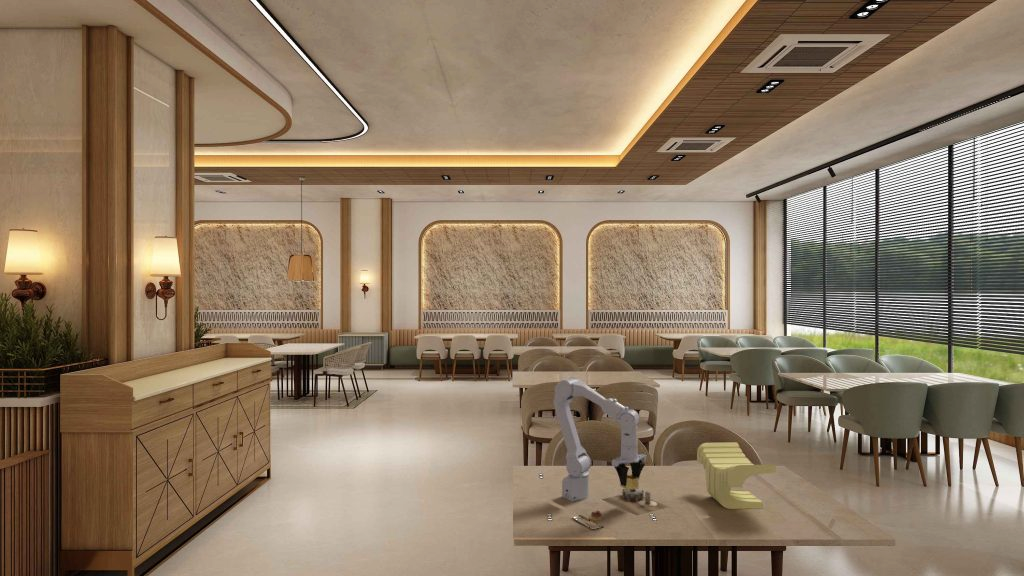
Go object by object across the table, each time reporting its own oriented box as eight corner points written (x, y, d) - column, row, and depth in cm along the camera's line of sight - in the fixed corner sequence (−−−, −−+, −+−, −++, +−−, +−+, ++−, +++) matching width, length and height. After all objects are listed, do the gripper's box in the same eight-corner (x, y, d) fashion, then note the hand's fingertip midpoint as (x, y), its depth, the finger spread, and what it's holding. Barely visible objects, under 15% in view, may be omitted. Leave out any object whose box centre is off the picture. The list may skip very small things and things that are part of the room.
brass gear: (629, 490, 207) (629, 480, 207) (619, 486, 211) (619, 476, 211) (639, 487, 209) (639, 477, 209) (629, 483, 214) (629, 473, 214)
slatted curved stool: (697, 488, 231) (697, 442, 232) (737, 488, 232) (737, 442, 233) (729, 518, 202) (729, 465, 202) (775, 517, 202) (775, 464, 203)
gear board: (636, 518, 201) (636, 503, 201) (601, 502, 216) (601, 488, 216) (668, 509, 209) (668, 495, 209) (632, 494, 224) (632, 481, 224)
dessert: (622, 525, 196) (622, 510, 196) (592, 532, 190) (592, 517, 190) (599, 513, 207) (599, 499, 207) (570, 520, 201) (570, 505, 201)
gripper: (621, 450, 203) (621, 490, 203) (652, 444, 211) (652, 483, 211) (607, 445, 209) (607, 484, 209) (638, 440, 217) (638, 478, 217)
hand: (629, 483), depth 210 cm, fingers closed on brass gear, 5 cm apart
